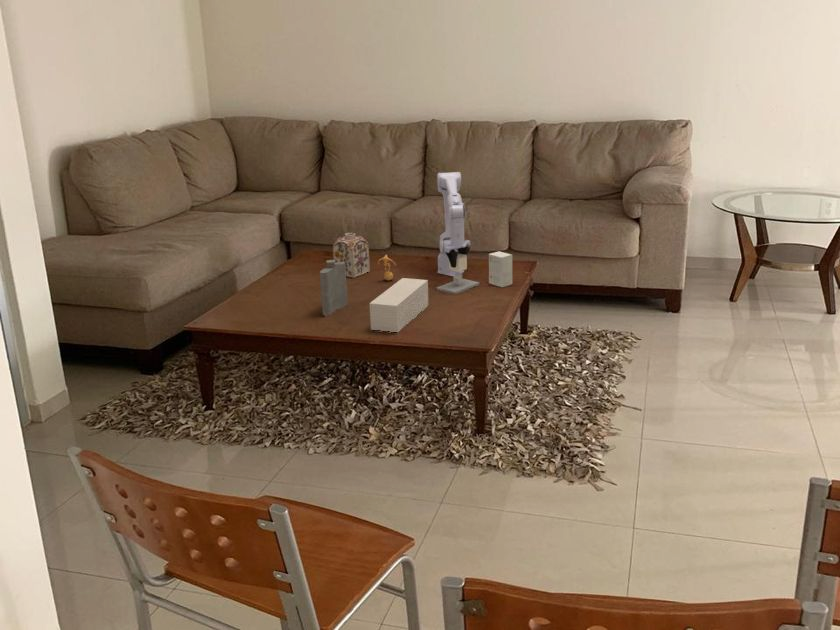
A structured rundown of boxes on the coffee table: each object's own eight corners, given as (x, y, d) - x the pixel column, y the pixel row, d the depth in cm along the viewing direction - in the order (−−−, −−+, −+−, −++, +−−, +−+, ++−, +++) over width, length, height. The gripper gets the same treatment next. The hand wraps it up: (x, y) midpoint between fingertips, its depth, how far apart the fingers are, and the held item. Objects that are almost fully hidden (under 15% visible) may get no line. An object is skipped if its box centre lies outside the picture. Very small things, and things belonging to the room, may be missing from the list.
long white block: (403, 303, 353) (402, 277, 349) (428, 306, 349) (427, 280, 346) (370, 331, 325) (369, 303, 321) (397, 333, 321) (396, 305, 318)
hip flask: (328, 316, 340) (324, 266, 334) (319, 315, 342) (315, 265, 335) (349, 304, 354) (346, 256, 347) (340, 303, 355) (337, 255, 349)
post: (453, 285, 370) (453, 273, 368) (457, 283, 372) (457, 272, 370) (458, 286, 368) (458, 274, 366) (462, 284, 370) (462, 273, 368)
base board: (436, 289, 368) (436, 287, 367) (460, 280, 379) (460, 278, 379) (455, 294, 361) (455, 291, 361) (479, 284, 373) (479, 282, 372)
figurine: (399, 279, 383) (398, 252, 379) (394, 283, 378) (393, 256, 374) (381, 278, 385) (380, 251, 381) (376, 282, 380) (375, 255, 376)
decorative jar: (350, 268, 402) (348, 229, 396) (370, 271, 395) (368, 232, 389) (333, 274, 393) (330, 235, 387) (353, 278, 386) (351, 238, 380)
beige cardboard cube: (449, 269, 367) (448, 255, 365) (457, 266, 371) (456, 253, 369) (459, 271, 364) (458, 257, 362) (466, 268, 368) (466, 254, 366)
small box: (512, 284, 372) (512, 254, 367) (501, 287, 368) (501, 257, 363) (499, 280, 377) (499, 250, 373) (488, 283, 374) (488, 253, 369)
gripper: (453, 238, 355) (454, 271, 359) (475, 231, 365) (476, 263, 370) (440, 236, 359) (440, 268, 364) (462, 229, 369) (463, 260, 374)
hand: (457, 265), depth 367 cm, fingers closed on beige cardboard cube, 5 cm apart
